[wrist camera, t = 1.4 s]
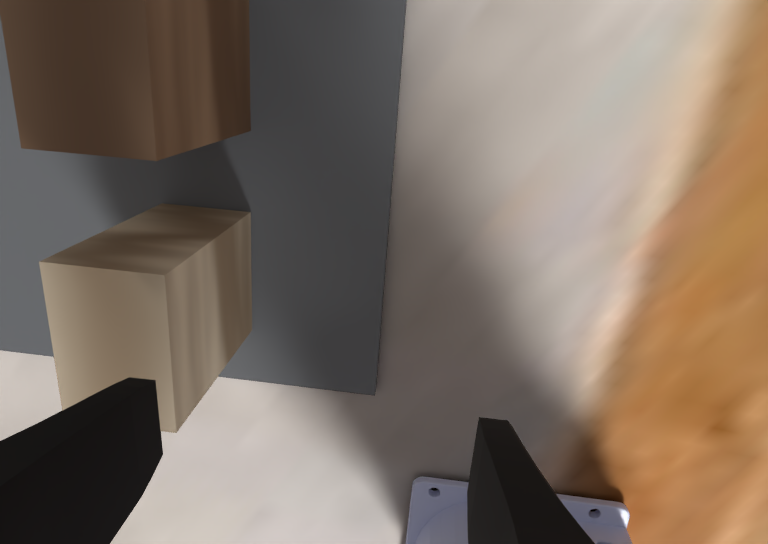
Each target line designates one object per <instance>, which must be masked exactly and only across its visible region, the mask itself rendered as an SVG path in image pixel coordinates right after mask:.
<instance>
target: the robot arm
mask: <svg viewBox="0 0 768 544" xmlns="http://www.w3.org/2000/svg"><path fill="white" fill-rule="evenodd" d="M162 455H163V451H162V440H161V430H160V420H159V410H158V400H157V390H156V380H150V379H141V378H132V377H129V378H126V379H124V380H122V381H119V382H117V383H115V384H113V385H111V386H109V387H107V388H105V389H103V390H101V391H99V392H97V393H95V394H93V395H91V396H90V397H88V398H86V399H84V400H82V401H80V402H78V403H76V404H74V405H72V406H70V407H68V408H66V409H65V410H63V411H61V412H59V413H57V414H55V415H53V416H51V417H49V418H47V419H45V420H43V421H41V422H39V423H37V424H35V425H33V426H31V427H29V428H27V429H25V430H23V431H21V432H19V433H16V434H14V435H12V436H10V437H8V438H6V439H4V440H2V441H0V544H110V542H111V541H112V539H113V538H114V537H115V535H116V534H117V532H118V531H119V529H120V528H121V526H122V525H123V523H124V522H125V520H126V519H127V517H128V516H129V515H130V513H131V512H132V510H133V509H134V507H135V506H136V504H137V503H138V501H139V499H140V498H141V496H142V495H143V493H144V491H145V489H146V487H147V485H148V483H149V481H150V480H151V478H152V476H153V474H154V472H155V470H156V467H157V465H158V463H159V461H160V459H161V457H162ZM431 488H437V489H439V490H437V491H433V490H431ZM592 509H597V510H596V511H594V512H591V511H590V510H592ZM629 518H630V514H629V511H628V509H627V507H626V505H624V504H623V503H620V502H615V501H608V500H600V499H592V498H585V497H577V496H570V495H562V494H556V493H555V492H554V491H553V489H552V488H551V486H550V485H549V483H548V482H547V481H546V479H545V478H544V476H543V475H542V473H541V472H540V471H539V469H538V468H537V466H536V464H535V463H534V461H533V460H532V458H531V457H530V455H529V454H528V452H527V450H526V449H525V447H524V446H523V444H522V442H521V441H520V439H519V437H518V436H517V434H516V432H515V430H514V429H513V427H512V425H511V424H510V423H509V422H508V421H506V420H498V419H489V418H480V417H479V421H478V427H477V433H476V440H475V446H474V452H473V459H472V465H471V471H470V478H469V482H462V481H455V480H447V479H439V478H432V477H418V478H416V479H415V480H414V481H413V483H412V491H411V500H410V509H409V518H408V526H407V535H406V544H632V542H631V539H630V537H629V534H628V532H627V529H626V528H627V524H628V521H629Z"/></svg>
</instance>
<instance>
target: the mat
mask: <svg viewBox="0 0 768 544" xmlns="http://www.w3.org/2000/svg"><path fill="white" fill-rule="evenodd" d="M405 13H406V0H249V30H250V112H251V131H249V132H246V133H243V134H240V135H237V136H234V137H230V138H227V139H224V140H221V141H218V142H215V143H212V144H208V145H205V146H202V147H199V148H196V149H193V150H190V151H186V152H183V153H180V154H177V155H174V156H171V157H168V158H164V159H161V160H158V161H151V160H140V159H130V158H119V157H108V156H97V155H87V154H76V153H65V152H54V151H44V150H33V149H22V148H21V144H20V138H19V131H18V125H17V119H16V112H15V106H14V99H13V93H12V87H11V80H10V74H9V68H8V61H7V55H6V49H5V42H4V36H3V30H2V23H1V17H0V350H3V351H11V352H20V353H28V354H36V355H44V356H53V357H54V354H53V348H52V341H51V335H50V328H49V322H48V316H47V309H46V303H45V297H44V290H43V284H42V278H41V271H40V265H39V261H42V260H44V259H46V258H48V257H50V256H52V255H54V254H56V253H58V252H61V251H63V250H65V249H67V248H69V247H71V246H73V245H75V244H77V243H79V242H82V241H84V240H86V239H88V238H90V237H92V236H94V235H96V234H98V233H101V232H103V231H105V230H107V229H109V228H111V227H113V226H115V225H117V224H120V223H122V222H124V221H126V220H128V219H130V218H132V217H134V216H136V215H138V214H141V213H143V212H145V211H147V210H149V209H151V208H153V207H155V206H157V205H160V204H162V203H164V204H174V205H184V206H194V207H204V208H214V209H224V210H234V211H245V212H251V275H252V331H251V332H250V334H249V335H248V336H247V338H246V339H245V340H244V342H243V343H242V344H241V346H240V347H239V349H238V350H237V351H236V353H235V354H234V355H233V357H232V358H231V359H230V361H229V362H228V363H227V365H226V366H225V368H224V369H223V370H222V372H221V373H220V374H219V376H218V377H226V378H235V379H243V380H251V381H259V382H268V383H276V384H284V385H292V386H301V387H309V388H317V389H325V390H334V391H342V392H350V393H359V394H367V395H375V392H376V382H377V369H378V356H379V344H380V331H381V318H382V305H383V293H384V280H385V267H386V255H387V242H388V229H389V216H390V204H391V191H392V178H393V166H394V153H395V140H396V127H397V115H398V102H399V89H400V76H401V64H402V51H403V38H404V26H405Z"/></svg>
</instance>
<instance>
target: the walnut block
mask: <svg viewBox="0 0 768 544" xmlns="http://www.w3.org/2000/svg"><path fill="white" fill-rule="evenodd" d="M0 17H1V23H2V30H3V36H4V42H5V49H6V55H7V61H8V68H9V74H10V80H11V87H12V93H13V99H14V106H15V112H16V119H17V125H18V131H19V138H20V144H21V148H22V149H33V150H44V151H54V152H65V153H76V154H87V155H97V156H108V157H119V158H130V159H140V160H151V161H158V160H161V159H164V158H168V157H171V156H174V155H177V154H180V153H183V152H186V151H190V150H193V149H196V148H199V147H202V146H205V145H208V144H212V143H215V142H218V141H221V140H224V139H227V138H230V137H234V136H237V135H240V134H243V133H246V132H249V131H251V112H250V30H249V0H0Z"/></svg>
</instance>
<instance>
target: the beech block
mask: <svg viewBox="0 0 768 544" xmlns="http://www.w3.org/2000/svg"><path fill="white" fill-rule="evenodd" d="M39 265H40V271H41V278H42V284H43V290H44V297H45V303H46V309H47V316H48V322H49V328H50V335H51V341H52V348H53V354H54V360H55V367H56V373H57V379H58V386H59V392H60V398H61V405H62V411H63V410H65V409H66V408H68V407H70V406H72V405H74V404H76V403H78V402H80V401H82V400H84V399H86V398H88V397H90V396H91V395H93V394H95V393H97V392H99V391H101V390H103V389H105V388H107V387H109V386H111V385H113V384H115V383H117V382H119V381H122V380H124V379H126V378H129V377H132V378H141V379H150V380H156V390H157V400H158V410H159V420H160V430H161V431H165V432H173V433H177V431H178V430H179V428H180V427H181V426H182V424H183V423H184V422H185V420H186V419H187V418H188V416H189V415H190V414H191V412H192V411H193V410H194V408H195V407H196V405H197V404H198V403H199V401H200V400H201V399H202V397H203V396H204V395H205V393H206V392H207V391H208V389H209V388H210V386H211V385H212V384H213V382H214V381H215V380H216V378H217V377H218V376H219V374H220V373H221V372H222V370H223V369H224V368H225V366H226V365H227V363H228V362H229V361H230V359H231V358H232V357H233V355H234V354H235V353H236V351H237V350H238V349H239V347H240V346H241V344H242V343H243V342H244V340H245V339H246V338H247V336H248V335H249V334H250V332H251V331H252V275H251V212H245V211H234V210H224V209H214V208H204V207H194V206H184V205H174V204H164V203H162V204H160V205H157V206H155V207H153V208H151V209H149V210H147V211H145V212H143V213H141V214H138V215H136V216H134V217H132V218H130V219H128V220H126V221H124V222H122V223H120V224H117V225H115V226H113V227H111V228H109V229H107V230H105V231H103V232H101V233H98V234H96V235H94V236H92V237H90V238H88V239H86V240H84V241H82V242H79V243H77V244H75V245H73V246H71V247H69V248H67V249H65V250H63V251H61V252H58V253H56V254H54V255H52V256H50V257H48V258H46V259H44V260H42V261H39Z"/></svg>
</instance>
